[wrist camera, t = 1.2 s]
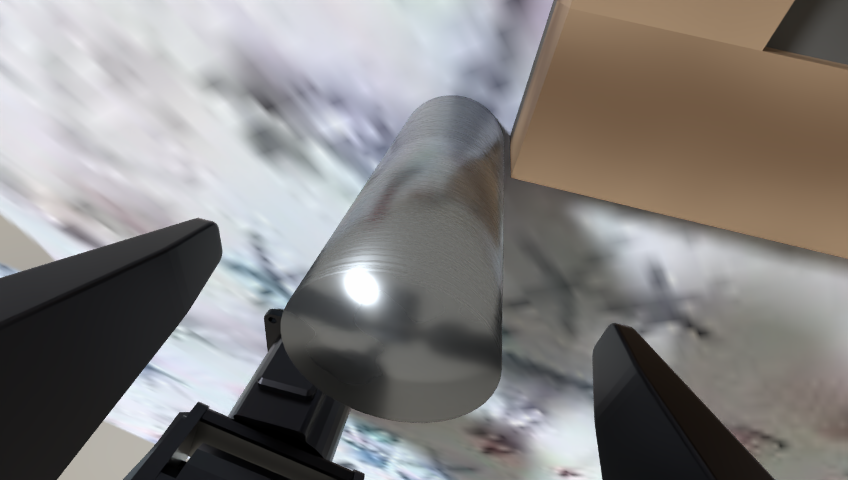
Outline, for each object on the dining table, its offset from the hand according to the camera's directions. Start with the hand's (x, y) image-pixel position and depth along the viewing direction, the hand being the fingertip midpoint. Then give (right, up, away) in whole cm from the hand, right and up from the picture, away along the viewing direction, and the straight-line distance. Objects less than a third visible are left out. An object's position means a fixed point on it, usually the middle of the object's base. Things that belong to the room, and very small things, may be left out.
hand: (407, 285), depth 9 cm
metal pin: (+1, +5, +6) cm, 8 cm away
